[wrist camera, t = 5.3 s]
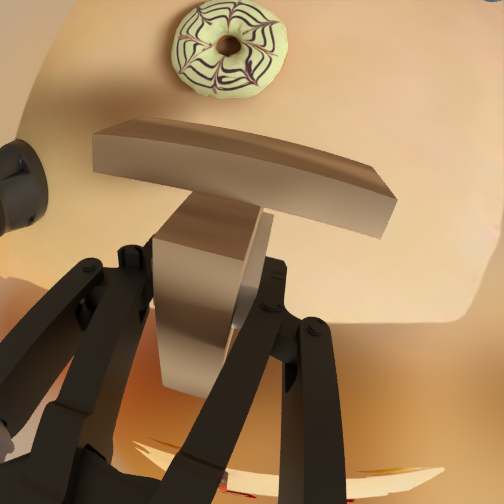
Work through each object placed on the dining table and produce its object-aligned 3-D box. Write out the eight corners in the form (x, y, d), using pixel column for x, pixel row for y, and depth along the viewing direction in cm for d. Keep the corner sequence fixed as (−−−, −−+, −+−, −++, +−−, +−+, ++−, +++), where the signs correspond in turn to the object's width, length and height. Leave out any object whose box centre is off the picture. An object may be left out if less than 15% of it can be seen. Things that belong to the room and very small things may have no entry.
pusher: (311, 313, 22) (307, 419, 14) (140, 269, 22) (83, 353, 14) (371, 166, 15) (432, 252, 7) (142, 116, 15) (32, 160, 8)
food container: (230, 470, 102) (225, 489, 93) (232, 476, 111) (228, 493, 102) (197, 463, 105) (191, 481, 96) (202, 469, 113) (197, 486, 105)
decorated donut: (271, 109, 25) (266, 112, 22) (173, 87, 25) (156, 88, 22) (301, 17, 19) (300, 7, 16) (196, 0, 20) (182, -9, 16)
